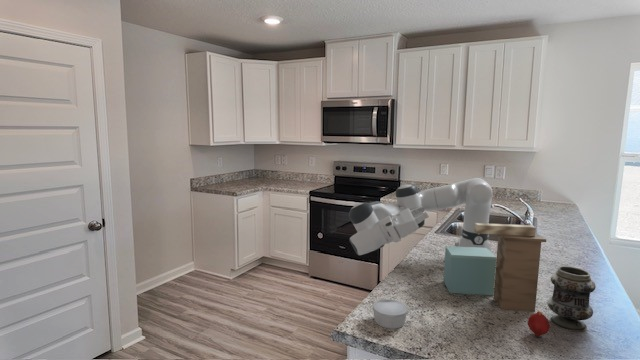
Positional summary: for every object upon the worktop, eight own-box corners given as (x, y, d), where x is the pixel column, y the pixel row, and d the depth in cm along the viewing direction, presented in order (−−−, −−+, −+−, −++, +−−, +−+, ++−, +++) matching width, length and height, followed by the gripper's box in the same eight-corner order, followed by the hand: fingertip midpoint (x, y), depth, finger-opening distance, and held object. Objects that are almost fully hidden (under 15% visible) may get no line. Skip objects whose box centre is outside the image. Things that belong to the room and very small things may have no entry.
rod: (476, 233, 126) (477, 225, 126) (474, 231, 129) (475, 223, 129) (535, 236, 124) (535, 227, 124) (531, 233, 127) (532, 225, 127)
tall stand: (489, 297, 135) (494, 229, 132) (526, 299, 134) (532, 231, 130) (499, 310, 125) (504, 237, 122) (539, 313, 124) (546, 239, 120)
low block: (443, 281, 150) (445, 245, 148) (484, 283, 148) (486, 247, 146) (449, 292, 139) (451, 254, 137) (493, 295, 137) (496, 257, 135)
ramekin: (394, 310, 125) (395, 296, 124) (414, 327, 114) (415, 311, 114) (366, 316, 121) (366, 301, 120) (383, 334, 110) (384, 317, 110)
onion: (528, 328, 114) (530, 304, 113) (550, 335, 110) (552, 310, 109) (524, 336, 110) (527, 311, 108) (547, 343, 106) (549, 317, 105)
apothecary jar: (593, 323, 118) (599, 270, 115) (588, 338, 109) (595, 281, 106) (549, 310, 126) (554, 260, 123) (542, 324, 117) (547, 270, 114)
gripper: (393, 228, 144) (425, 212, 142) (397, 244, 124) (434, 226, 122) (385, 214, 144) (417, 198, 141) (388, 228, 124) (425, 209, 121)
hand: (425, 211), depth 131 cm, fingers open, 8 cm apart
